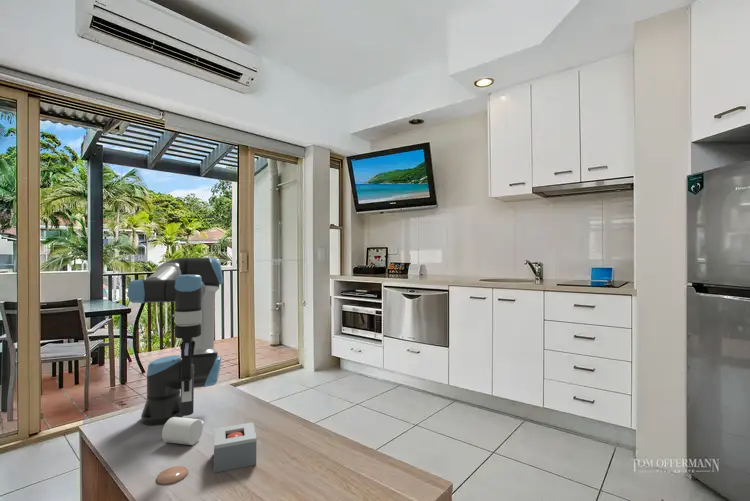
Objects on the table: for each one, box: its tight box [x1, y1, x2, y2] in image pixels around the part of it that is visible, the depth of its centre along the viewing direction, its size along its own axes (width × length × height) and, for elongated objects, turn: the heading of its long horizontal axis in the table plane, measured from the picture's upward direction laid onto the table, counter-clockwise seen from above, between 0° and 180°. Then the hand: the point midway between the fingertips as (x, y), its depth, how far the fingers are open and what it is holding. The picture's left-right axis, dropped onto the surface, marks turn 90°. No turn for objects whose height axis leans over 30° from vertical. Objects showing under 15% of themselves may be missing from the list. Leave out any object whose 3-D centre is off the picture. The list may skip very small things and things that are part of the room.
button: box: [227, 432, 243, 438], centre depth 117 cm, size 5×5×3 cm
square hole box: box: [213, 421, 258, 474], centre depth 117 cm, size 12×12×8 cm
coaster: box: [156, 465, 189, 485], centre depth 108 cm, size 8×8×1 cm
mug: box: [161, 417, 205, 446], centre depth 130 cm, size 12×10×8 cm
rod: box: [180, 364, 195, 417], centre depth 116 cm, size 4×4×15 cm
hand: (187, 398), depth 116 cm, fingers closed on rod, 3 cm apart
